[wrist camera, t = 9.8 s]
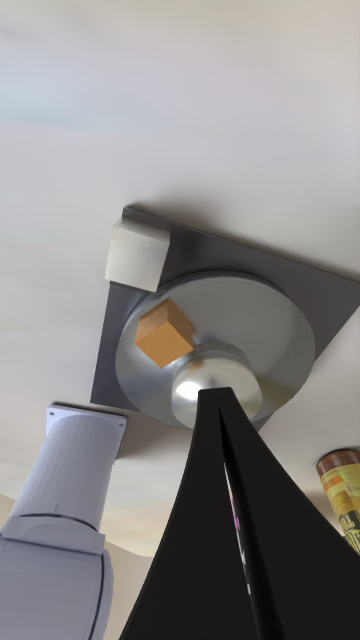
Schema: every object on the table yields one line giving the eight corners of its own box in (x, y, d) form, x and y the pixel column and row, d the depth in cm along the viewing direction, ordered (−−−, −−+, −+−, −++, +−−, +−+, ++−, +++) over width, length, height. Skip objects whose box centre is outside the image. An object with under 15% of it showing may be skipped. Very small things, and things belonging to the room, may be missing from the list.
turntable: (330, 368, 21) (365, 413, 17) (190, 432, 26) (193, 479, 22) (248, 222, 14) (276, 243, 11) (79, 343, 19) (56, 389, 15)
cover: (264, 375, 19) (278, 408, 16) (202, 408, 21) (206, 442, 18) (221, 326, 16) (229, 356, 14) (155, 369, 18) (152, 402, 16)
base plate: (255, 425, 27) (265, 456, 24) (92, 396, 24) (81, 427, 21) (365, 284, 18) (401, 306, 15) (125, 206, 15) (114, 215, 12)
